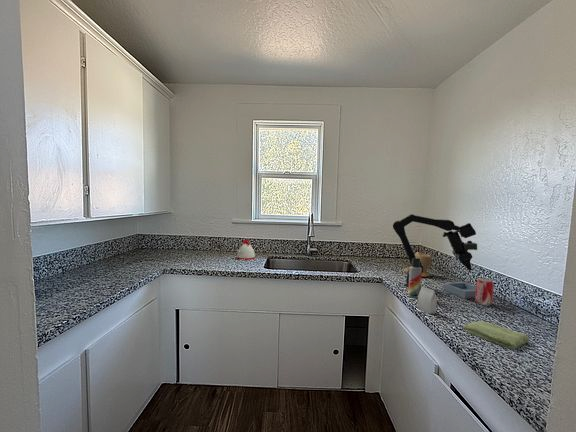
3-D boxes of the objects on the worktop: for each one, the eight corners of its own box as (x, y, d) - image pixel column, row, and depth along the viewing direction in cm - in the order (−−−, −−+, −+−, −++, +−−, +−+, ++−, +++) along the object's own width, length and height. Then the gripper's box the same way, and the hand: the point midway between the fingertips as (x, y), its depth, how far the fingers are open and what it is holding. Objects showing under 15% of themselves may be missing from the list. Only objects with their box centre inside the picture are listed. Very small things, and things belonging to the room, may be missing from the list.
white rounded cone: (248, 255, 240) (249, 237, 239) (258, 258, 230) (258, 240, 229) (233, 257, 232) (234, 239, 230) (243, 261, 221) (243, 241, 220)
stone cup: (434, 277, 189) (436, 254, 188) (420, 278, 185) (421, 255, 184) (416, 271, 203) (418, 250, 202) (403, 272, 199) (404, 250, 198)
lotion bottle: (413, 298, 147) (415, 259, 146) (405, 294, 153) (407, 257, 151) (422, 297, 149) (424, 258, 148) (414, 294, 154) (416, 256, 153)
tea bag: (430, 313, 128) (431, 291, 128) (417, 308, 134) (418, 286, 134) (435, 312, 130) (437, 290, 129) (423, 307, 136) (424, 286, 135)
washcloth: (478, 324, 119) (478, 316, 119) (530, 343, 104) (531, 334, 104) (460, 331, 113) (460, 323, 113) (514, 353, 98) (514, 343, 97)
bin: (464, 299, 148) (465, 291, 148) (443, 290, 162) (443, 283, 161) (486, 297, 152) (487, 289, 152) (463, 288, 165) (464, 282, 165)
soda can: (471, 301, 145) (473, 278, 144) (481, 300, 147) (483, 277, 146) (485, 307, 138) (487, 282, 137) (495, 305, 140) (497, 281, 140)
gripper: (476, 238, 146) (490, 267, 145) (467, 234, 164) (480, 259, 163) (452, 246, 150) (466, 274, 149) (447, 241, 168) (459, 266, 166)
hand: (468, 268), depth 157 cm, fingers open, 9 cm apart
